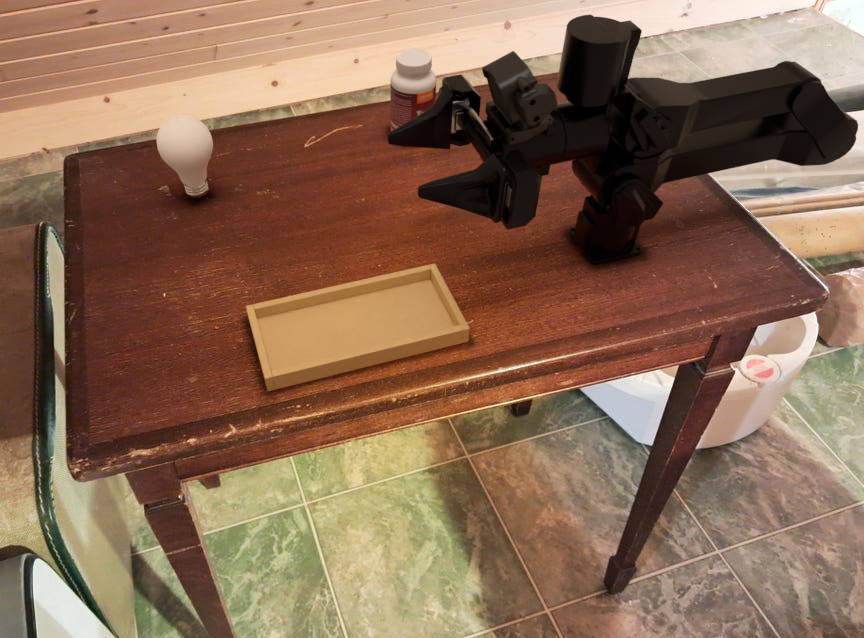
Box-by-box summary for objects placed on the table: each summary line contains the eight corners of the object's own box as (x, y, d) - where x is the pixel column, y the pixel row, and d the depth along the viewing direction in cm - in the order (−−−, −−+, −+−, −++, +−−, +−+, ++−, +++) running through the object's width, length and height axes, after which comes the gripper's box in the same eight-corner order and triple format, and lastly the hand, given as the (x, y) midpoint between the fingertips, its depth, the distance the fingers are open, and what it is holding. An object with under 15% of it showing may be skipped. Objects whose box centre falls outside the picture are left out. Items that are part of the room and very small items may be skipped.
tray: (434, 276, 83) (435, 262, 81) (468, 341, 76) (470, 328, 75) (248, 319, 79) (245, 305, 77) (267, 391, 72) (264, 378, 71)
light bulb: (228, 180, 96) (211, 103, 87) (219, 211, 91) (201, 134, 83) (178, 180, 96) (157, 104, 87) (167, 211, 92) (144, 134, 83)
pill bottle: (421, 149, 100) (423, 73, 91) (382, 137, 102) (381, 62, 93) (441, 127, 103) (445, 52, 95) (403, 116, 105) (404, 42, 97)
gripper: (522, 13, 71) (372, 37, 69) (616, 108, 60) (439, 142, 57) (510, 115, 80) (375, 140, 77) (589, 215, 68) (434, 250, 65)
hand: (402, 164), depth 69 cm, fingers open, 9 cm apart
